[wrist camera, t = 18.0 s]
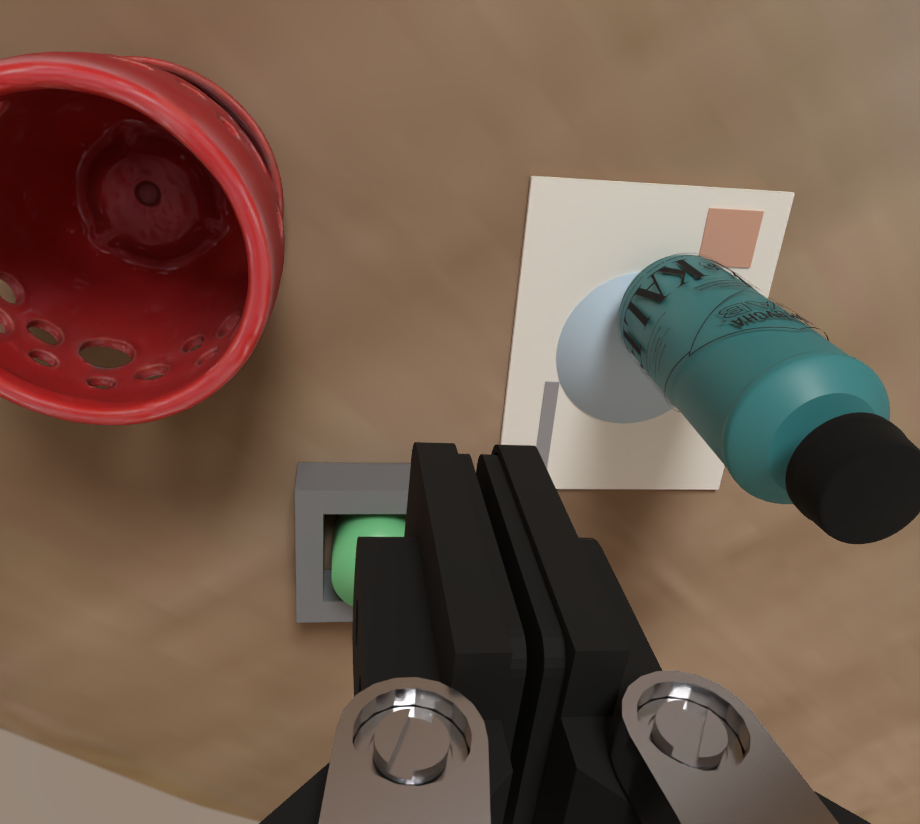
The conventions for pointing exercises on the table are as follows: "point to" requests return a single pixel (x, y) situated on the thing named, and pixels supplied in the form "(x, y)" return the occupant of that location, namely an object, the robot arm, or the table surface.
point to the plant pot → (130, 234)
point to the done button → (346, 541)
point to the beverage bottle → (773, 398)
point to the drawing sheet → (596, 324)
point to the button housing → (337, 494)
